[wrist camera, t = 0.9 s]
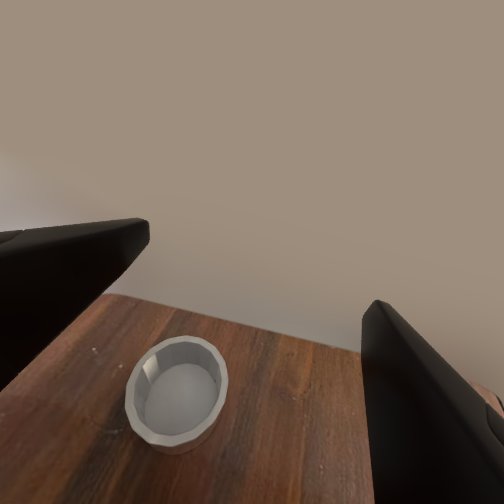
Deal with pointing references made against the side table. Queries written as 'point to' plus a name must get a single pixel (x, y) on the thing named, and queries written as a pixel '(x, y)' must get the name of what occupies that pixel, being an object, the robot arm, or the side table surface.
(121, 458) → the side table surface
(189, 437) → the white cylindrical cup
